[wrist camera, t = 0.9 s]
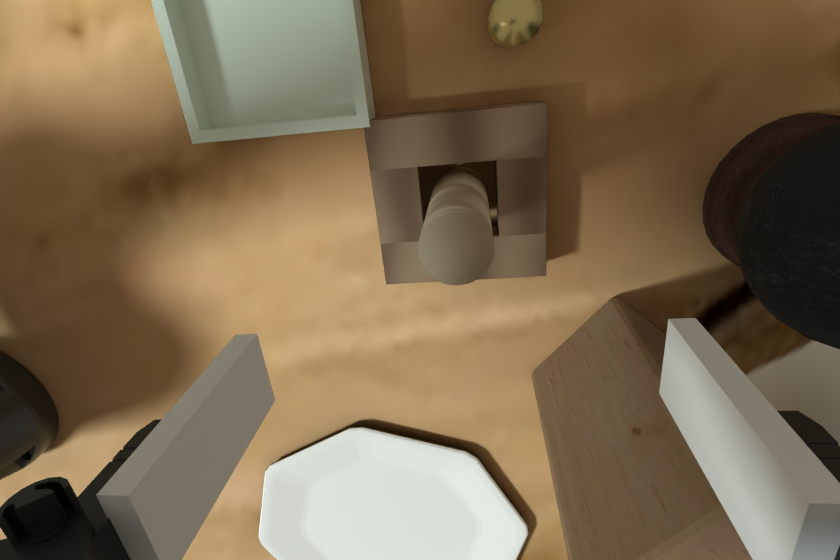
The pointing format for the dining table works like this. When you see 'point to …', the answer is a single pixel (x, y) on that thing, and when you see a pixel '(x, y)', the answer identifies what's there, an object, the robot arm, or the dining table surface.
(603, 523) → the wooden block
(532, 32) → the cylinder
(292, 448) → the dining table surface
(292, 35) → the tray
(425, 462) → the plate
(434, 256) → the dowel
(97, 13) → the dining table surface
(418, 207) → the socket block
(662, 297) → the dining table surface
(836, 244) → the black ball on stand
